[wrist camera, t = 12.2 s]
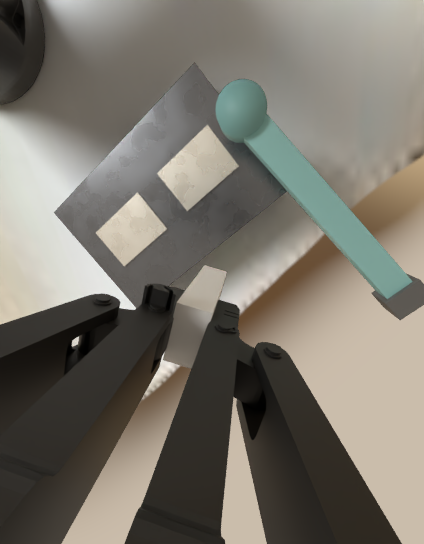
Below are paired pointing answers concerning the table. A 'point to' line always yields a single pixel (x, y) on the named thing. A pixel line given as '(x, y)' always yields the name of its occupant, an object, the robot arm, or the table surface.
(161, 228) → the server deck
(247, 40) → the table surface
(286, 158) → the green knobbed rod
